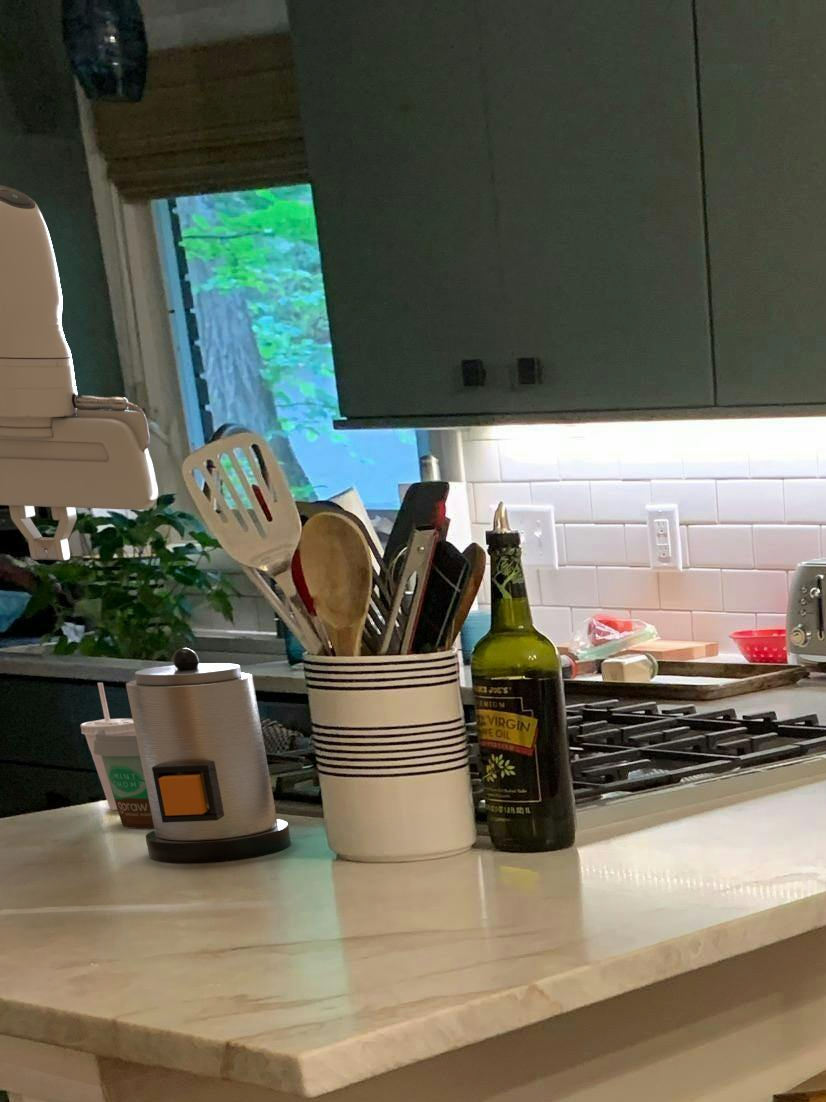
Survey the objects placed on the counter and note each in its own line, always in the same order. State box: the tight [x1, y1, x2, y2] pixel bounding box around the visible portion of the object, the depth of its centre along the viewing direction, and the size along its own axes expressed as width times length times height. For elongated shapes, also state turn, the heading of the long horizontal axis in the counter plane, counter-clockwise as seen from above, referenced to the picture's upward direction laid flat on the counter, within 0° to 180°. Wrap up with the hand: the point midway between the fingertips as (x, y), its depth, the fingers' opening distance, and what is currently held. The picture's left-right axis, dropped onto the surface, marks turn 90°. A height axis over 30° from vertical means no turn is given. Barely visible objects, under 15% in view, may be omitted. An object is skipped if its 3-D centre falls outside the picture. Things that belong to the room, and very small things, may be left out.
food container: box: [94, 729, 154, 830], centre depth 213 cm, size 12×6×10 cm, turn 80°
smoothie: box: [80, 682, 136, 811], centre depth 223 cm, size 6×6×14 cm
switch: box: [159, 774, 208, 816], centre depth 190 cm, size 2×4×4 cm, turn 94°
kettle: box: [125, 647, 292, 864], centre depth 197 cm, size 18×14×20 cm
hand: (51, 559), depth 176 cm, fingers closed
